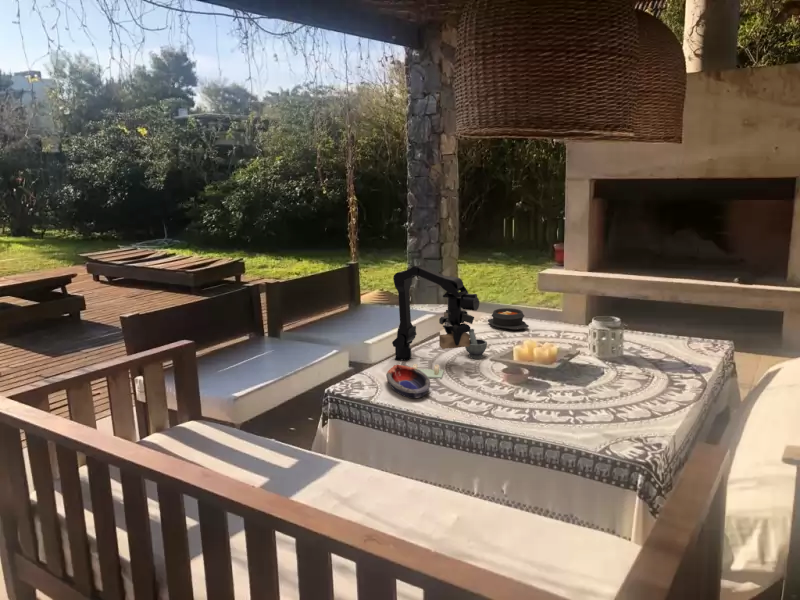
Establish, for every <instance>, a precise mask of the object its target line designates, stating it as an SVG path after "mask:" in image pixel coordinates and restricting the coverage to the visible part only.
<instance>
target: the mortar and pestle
mask: <svg viewBox="0 0 800 600" xmlns="http://www.w3.org/2000/svg"><path fill="white" fill-rule="evenodd" d="M468 334H469V335H470V346H469V347H464V348H465V350H466V352H467V353H468V358H470V359H472V358H474V360H479V359H483V358H484V355H483V354H484V353H485V351H486V350H487V347H488V341H487V340H484V339H480V338H476V334H475V329H474V328H470V332H468Z"/></svg>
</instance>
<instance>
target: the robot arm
mask: <svg viewBox="0 0 800 600" xmlns="http://www.w3.org/2000/svg"><path fill="white" fill-rule="evenodd" d="M417 276H418V277H420V278H421V279H425V280H426V281H429V282H432V283H434V284H436V285H439V286H440V287H441V289H442V290H444V291H446V292H445V294H443V295H442V297H443V298H447V309H446V310H445V314H446V313H447V315H445V316H440V318H439V324H440V325H442V327H443V329H444V331H445V333H446V334H452V335H453V338H454V342H455V344H456V346H457V345H459V342H460V339H461V336H462V334H463V333H464V332H466V333H469V332H470V329H471V326H470V325H469V324H471V325H473V322H474V320H475V316H473V315H471V314H469V313H468V311H473V312H474V311H475V312H476V311H478V310H479V308H480V299H479V297H478V294H477V293H469V292H468V290H467V288H466V286H465V285H464V282H463V280H462V279H461V278H459V277H457V276H451V275H444V274H441V273H439V272H437V271H434V270H432V269H430V268H428V267H426V266H423V265H421V264H417V265H416V264H415V265H413V266H412V267H411V268H408V269H405V270H401V271H398V272H395V273H394V275H393V279H392V280H393V284H394V287H395V289H396V291H397V294H398V298H397V299H398V311H399V313H398V314H399V325H398V328H397V331H396V332H397V334H396V338H395V339H394V340H393V341H392V343H391V344H392V346H393V347H394V349H395V350H394V352H395V353H394V354H395V358H394V360H395V361H410V359H411V358H412V347H411V344H412V343H413V342H414V340H415V338H416V335H417V332H416V331H417V326H416V325H413V324H412V320H411V301H410V289H411V286H412V283H413V279H414V278H415V277H417ZM466 310H467V311H466ZM468 323H469V324H468Z"/></svg>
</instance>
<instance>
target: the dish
mask: <svg viewBox="0 0 800 600" xmlns="http://www.w3.org/2000/svg"><path fill="white" fill-rule="evenodd" d="M418 369H419V368H418ZM418 369H415V368H412V366H407V365H402V364H394V365H393V366H392V367H390V368H389V369H388V370H387V372H386V375H385V376H386V380H387V381H388V384H389V386H390V387H391V388H392V390H394V391H395V392H396V393H397V394H400V395H401V396H404V397H406V398H409V399H410V398H411V399H418V398H422V397H424V396H425V395H427V393H428V392H429V390H430V387H431V380H430V378H428V377H427V375H426V374H424V373H423V372H422V371H420V370H418Z"/></svg>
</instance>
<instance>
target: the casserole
mask: <svg viewBox="0 0 800 600" xmlns="http://www.w3.org/2000/svg"><path fill="white" fill-rule="evenodd" d="M491 317H492V318H489V319H487V322H488V323H489V324H490V325H491V326H493V327H494V328H498V329H502V330H523V329H527V328H529V327H530V326H529V324H527V323H526V322H525V321H523V320H524V317H525V314H524V312H523V311H522V310H521V309H518V308H512V307H511V308H510V307H509V308H507V307H506V308H498V309H494V310H493V312H492V313H491Z"/></svg>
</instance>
